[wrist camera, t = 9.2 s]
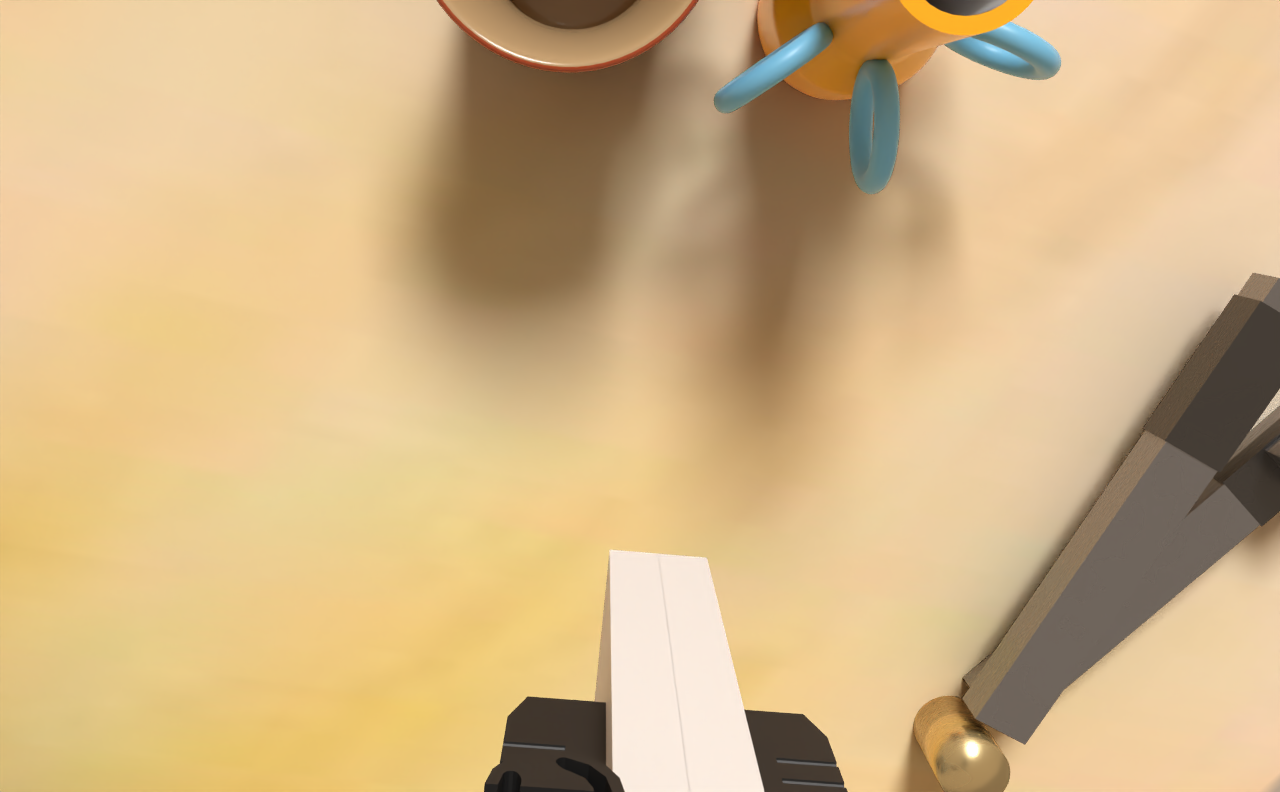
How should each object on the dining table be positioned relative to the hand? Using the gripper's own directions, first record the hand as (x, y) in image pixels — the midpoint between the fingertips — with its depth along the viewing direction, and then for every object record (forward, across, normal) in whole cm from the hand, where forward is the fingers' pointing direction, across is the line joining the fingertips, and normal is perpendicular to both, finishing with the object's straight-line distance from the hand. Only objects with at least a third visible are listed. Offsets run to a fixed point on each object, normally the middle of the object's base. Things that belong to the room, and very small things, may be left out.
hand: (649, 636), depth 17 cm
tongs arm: (+25, +20, -5) cm, 32 cm away
